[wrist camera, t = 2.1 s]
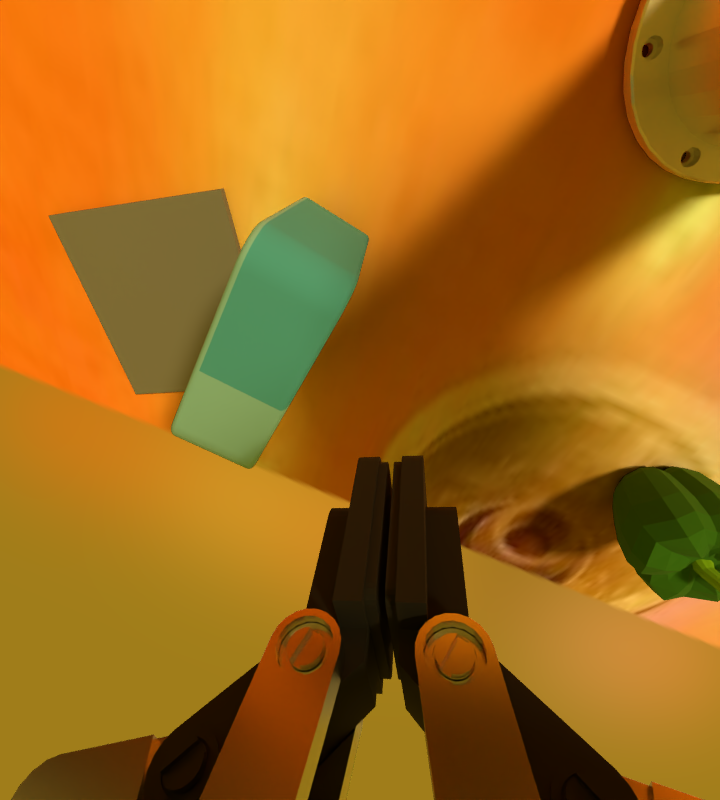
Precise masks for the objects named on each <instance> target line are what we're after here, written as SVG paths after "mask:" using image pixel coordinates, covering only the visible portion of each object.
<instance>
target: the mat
mask: <svg viewBox="0 0 720 800" xmlns="http://www.w3.org/2000/svg"><path fill="white" fill-rule="evenodd" d="M49 218H50V220H51V222H52V224H53V226H54V228H55V230H56V232H57V234H58V236H59V238H60V240H61V242H62V244H63V246H64V248H65V250H66V253H67V255H68V257H69V259H70V261H71V263H72V265H73V267H74V269H75V271H76V273H77V275H78V277H79V279H80V281H81V283H82V285H83V287H84V289H85V291H86V293H87V295H88V297H89V299H90V301H91V303H92V306H93V308H94V310H95V312H96V314H97V316H98V318H99V320H100V322H101V324H102V326H103V328H104V330H105V332H106V334H107V336H108V338H109V340H110V342H111V344H112V346H113V348H114V350H115V352H116V354H117V356H118V359H119V361H120V363H121V365H122V367H123V369H124V371H125V373H126V375H127V377H128V379H129V381H130V383H131V385H132V387H133V389H134V391H135V393H136V394H148V393H165V392H182V391H185V390H186V387H187V385H188V382H189V380H190V377H191V374H192V372H193V369H194V367H195V364H196V362H197V359H198V357H199V354H200V352H201V349H202V347H203V344H204V341H205V339H206V336H207V334H208V331H209V329H210V326H211V324H212V321H213V319H214V316H215V313H216V311H217V308H218V306H219V303H220V301H221V298H222V296H223V293H224V291H225V288H226V286H227V283H228V280H229V278H230V275H231V273H232V270H233V268H234V265H235V263H236V260H237V258H238V256H239V254H240V252H241V249H240V246H239V242H238V239H237V235H236V231H235V228H234V224H233V221H232V217H231V213H230V210H229V206H228V202H227V199H226V195H225V192H224V189H217V190H211V191H205V192H198V193H192V194H185V195H179V196H172V197H166V198H159V199H153V200H146V201H140V202H133V203H127V204H120V205H114V206H107V207H101V208H94V209H88V210H81V211H75V212H68V213H62V214H55V215H50V216H49Z"/></svg>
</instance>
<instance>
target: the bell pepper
mask: <svg viewBox="0 0 720 800" xmlns="http://www.w3.org/2000/svg"><path fill="white" fill-rule="evenodd" d="M613 517H614V524H615V529H616V535H617V540H618V543H619V545H620V547H621V549H622V551H623V554H624V556H625V558H626V560H627V562H628V563H629V564H631V565H632V566H633V567H634V568H635V570H636V572H637V574H638V575H639V576H640V577H641V578H642V579H643V580H644V582H645V583H646V584H647V585H648V586H649V587H650V588H651V589H652V590H653V591H654V592H655V593H656V594H657V595H659V596H660V597H661V598H662V599H663V600H669V599H674V598H679V597H690V598H697V599H703V600H710V601H716V602H718V601H719V600H720V485H718V484H717V483H715V482H714V481H712V480H711V479H709V478H707V477H706V476H704V475H703V474H701V473H699V472H696V471H693V470H689V469H685V468H679V467H673V466H672V467H670V468H668V469H666V470H664V471H662V470H660V469H658V468H655V467H642V468H639V469H637V470H635V471H633V472H631V473H629V474H627V475H625V476H624V477H623V478H622V480H621V481H620V483H619V484H618V485H617V487H616V488H615V491H614V494H613Z"/></svg>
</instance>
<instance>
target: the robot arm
mask: <svg viewBox="0 0 720 800" xmlns="http://www.w3.org/2000/svg"><path fill="white" fill-rule="evenodd" d="M644 45H647V46H648V47H649V52H648V54H647V56H646V57H643V56H642V48H643V46H644ZM623 93H624V100H625V106H626V112H627V118H628V121H629V123H630V126H631V128H632V131H633V133H634V136H635V138H636V140H637V142H638V143H639V145H640V146H641V147H642V149H643V150H644V151H645V153H646V154H647V156H648V157H649V158H650V159H652V160H653V161H654V162H655V163H657V164H658V165H659V166H660V167H661V168H663V169H664V170H665V171H668V172H670V173H672V174H675V175H677V176H679V177H681V178H684V179H688V180H693V181H698V182H703V183H717V184H720V0H641V1H640V4H639V7H638V10H637V13H636V16H635V19H634V22H633V24H632V27H631V30H630V35H629V40H628V46H627V51H626V56H625V61H624V85H623ZM684 152H686V157H685V159H684V160H683V161H682V162H681V157H682V155H683V153H684ZM393 651H394V657H395V663H396V668H397V674H398V679H400V680H401V683H402V689H403V694H404V700H405V706H406V709H407V711H408V712H409V713H410V714H411V716H412V717H413V718H414V720H415V721H416V722H417V723H418V724H419V726H420V727H421V728H422V730H423V731H424V732H425V738H426V746H427V753H428V760H429V768H430V775H431V782H432V789H433V797H434V800H703V799H700V798H697V797H694V796H692V795H689V794H686V793H683V792H680V791H677V790H674V789H672V788H669V787H666V786H663V785H660V784H657V783H655V782H651V783H650V785H646V784H643V783H641V782H637V781H635V780H632V779H629V778H626V777H623V776H621V775H620V774H619V773H618V772H617V770H615V768H614V767H613V766H611V765H610V764H609V763H608V762H607V761H606V760H605V759H604V758H603V757H602V756H601V755H600V754H598V753H597V752H596V751H595V750H594V749H593V748H592V747H591V746H590V745H589V744H588V743H587V742H585V741H584V740H583V739H582V738H581V737H580V736H579V735H578V734H577V733H576V732H575V731H573V730H572V729H571V728H570V727H569V726H568V725H567V724H566V723H565V722H564V721H563V720H562V719H561V718H559V717H558V716H557V715H556V714H555V713H554V712H553V711H552V710H551V709H550V708H548V706H546V705H545V704H544V703H543V702H542V701H541V700H540V699H539V698H538V697H537V696H536V695H534V694H533V693H532V692H531V691H530V690H529V689H528V688H527V687H526V686H525V685H524V684H523V683H522V682H520V681H519V680H518V679H517V678H516V677H515V676H514V675H513V674H512V673H511V672H510V671H508V670H507V669H506V668H505V667H504V666H503V665H502V664H501V663H500V662H499V661H498V658H497V654H496V651H495V648H494V645H493V643H492V641H491V639H490V637H489V635H488V634H487V632H486V631H485V630H484V629H483V628H482V627H481V625H480V624H478V623H477V622H475V621H474V620H472V619H471V618H469V616H468V608H467V598H466V589H465V580H464V571H463V562H462V553H461V544H460V535H459V526H458V517H457V509H456V507H427V500H426V486H425V473H424V459H423V456H402V462H394V471H393V485H391V478H390V470H389V464H388V462H381V459H380V457H364V458H359V460H358V464H357V470H356V475H355V480H354V486H353V491H352V497H351V502H350V507H349V508H332V509H331V511H330V513H329V516H328V520H327V524H326V528H325V532H324V537H323V541H322V545H321V550H320V553H319V558H318V562H317V566H316V570H315V575H314V579H313V583H312V587H311V592H310V595H309V600H308V604H307V608H306V609H303V610H300V611H296V612H294V613H293V614H291V615H289V616H288V617H286V618H285V619H284V620H283V621H282V622H281V623H280V624H279V625H278V626H277V628H276V629H275V631H274V633H273V634H272V636H271V638H270V640H269V643H268V645H267V647H266V650H265V652H264V654H263V656H262V658H261V661H260V662H259V663H258V664H256V665H255V666H254V667H253V668H251V669H250V670H249V671H248V672H246V674H244V675H243V676H242V677H240V678H239V679H238V680H236V681H235V682H234V683H233V684H231V685H230V686H229V687H228V688H226V689H225V690H224V691H223V692H221V693H220V694H219V695H218V696H216V697H215V698H214V699H213V700H211V701H210V702H209V703H208V704H206V705H205V706H204V707H203V708H201V709H200V710H199V711H198V712H196V713H195V714H194V715H193V716H191V717H190V718H189V719H188V720H186V721H185V722H184V723H183V724H181V725H180V726H179V727H178V728H176V729H175V730H174V731H173V732H172V733H171V734H170V735H169V736H166V737H162V738H156V737H155V736H154V735H149V736H145V737H140V738H136V739H131V740H126V741H121V742H116V743H111V744H107V745H102V746H98V747H93V748H88V749H83V750H78V751H73V752H69V753H64V754H60V755H57V756H55V757H53V758H50V759H48V760H46V761H45V762H43V763H42V764H41V765H40V766H38V767H37V768H36V769H34V770H33V771H32V772H31V773H30V774H29V775H28V776H27V778H26V779H25V780H24V781H23V782H22V783H21V784H20V786H19V787H18V789H17V790H16V792H15V794H14V795H13V797H12V799H11V800H346V799H347V794H348V790H349V785H350V781H351V776H352V771H353V767H354V762H355V758H356V753H357V749H358V744H359V739H360V735H361V731H362V723H363V719H364V718H365V717H366V715H367V714H368V713H369V712H370V711H371V710H372V709H373V708H374V707H375V705H376V694H382V688H383V679H391V677H392V664H393Z"/></svg>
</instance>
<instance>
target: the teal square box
mask: <svg viewBox="0 0 720 800" xmlns="http://www.w3.org/2000/svg"><path fill="white" fill-rule="evenodd" d="M368 241H369V238H368V236H367V235H366V234H364V233H363V232H361V231H360V230H358V229H356V228H355V227H353V226H352V225H350V224H349V223H347V222H345V221H344V220H342V219H341V218H339V217H337V216H336V215H334V214H333V213H331V212H329V211H328V210H326V209H325V208H323V207H321V206H320V205H318V204H317V203H315V202H313V201H312V200H310V199H309V198H307V197H304V198H302V199H300V200H298V201H296V202H295V203H293V204H291V205H289V206H288V207H286V208H284V209H282V210H281V211H279V212H277V213H275V214H274V215H272V216H270V217H268V218H267V219H265V220H263V221H261V222H260V223H259V224H258V225H257V226H256V227H255V228H254V229H253V231H252V232H251V234H250V235H249V237H248V239H247V240H246V242H245V244H244V246H243V248H242V250H241V252H240V254H239V256H238V258H237V260H236V263H235V265H234V268H233V270H232V273H231V275H230V278H229V280H228V283H227V286H226V288H225V291H224V293H223V296H222V298H221V301H220V303H219V306H218V308H217V311H216V313H215V316H214V319H213V321H212V324H211V326H210V329H209V331H208V334H207V336H206V339H205V341H204V344H203V347H202V349H201V352H200V354H199V357H198V359H197V362H196V364H195V367H194V369H193V372H192V374H191V377H190V380H189V382H188V385H187V387H186V390H185V392H184V395H183V397H182V400H181V402H180V405H179V408H178V410H177V413H176V415H175V418H174V420H173V423H172V427H171V432H172V434H173V435H175V436H177V437H179V438H181V439H183V440H186V441H188V442H190V443H192V444H194V445H197V446H199V447H201V448H203V449H205V450H208V451H210V452H212V453H214V454H216V455H219V456H221V457H223V458H225V459H227V460H230V461H232V462H234V463H236V464H239V465H241V466H243V467H245V468H248V469H250V468H252V467H253V466H254V465H255V464H256V462H257V461H258V459H259V457H260V455H261V454H262V452H263V450H264V448H265V447H266V445H267V443H268V442H269V440H270V438H271V436H272V435H273V433H274V431H275V429H276V428H277V426H278V424H279V423H280V421H281V419H282V417H283V416H284V414H285V412H286V410H287V409H288V407H289V405H290V403H291V402H292V400H293V398H294V397H295V395H296V393H297V391H298V390H299V388H300V386H301V384H302V383H303V381H304V379H305V377H306V376H307V374H308V372H309V371H310V369H311V367H312V365H313V364H314V362H315V360H316V358H317V357H318V355H319V353H320V352H321V350H322V348H323V346H324V345H325V343H326V341H327V339H328V338H329V336H330V334H331V332H332V331H333V329H334V327H335V326H336V324H337V322H338V320H339V319H340V317H341V315H342V313H343V311H344V309H345V308H346V306H347V304H348V302H349V300H350V298H351V296H352V294H353V292H354V289H355V287H356V285H357V282H358V278H359V275H360V271H361V267H362V263H363V260H364V256H365V252H366V248H367V245H368Z"/></svg>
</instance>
